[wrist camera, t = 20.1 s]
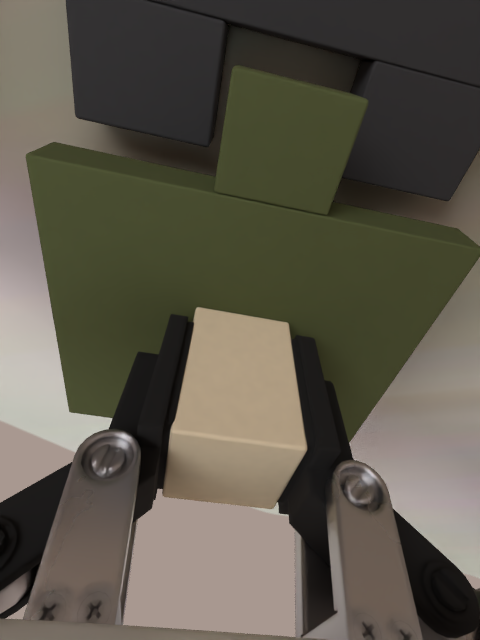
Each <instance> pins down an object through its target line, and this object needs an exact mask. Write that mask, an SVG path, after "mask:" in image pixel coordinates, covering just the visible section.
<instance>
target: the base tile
mask: <svg viewBox="0 0 480 640" xmlns="http://www.w3.org/2000/svg"><path fill="white" fill-rule="evenodd" d="M66 9H67V21H68V33H69V45H70V56H71V68H72V80H73V92H74V104H75V115H76V117H77V118H79V119H83V120H87V121H92V122H96V123H101V124H105V125H110V126H114V127H119V128H123V129H127V130H132V131H136V132H141V133H145V134H150V135H154V136H159V137H163V138H168V139H172V140H177V141H181V142H186V143H190V144H194V145H199V146H203V147H209V145H210V144H211V141H212V139H213V137H214V130H215V123H216V116H217V109H218V101H219V94H220V87H221V79H222V72H223V65H224V58H225V50H226V43H227V36H228V25H227V24H229V25H233V26H236V27H240V28H244V29H248V30H252V31H255V32H259V33H263V34H267V35H271V36H274V37H278V38H282V39H286V40H290V41H293V42H297V43H301V44H305V45H309V46H312V47H316V48H320V49H324V50H328V51H331V52H335V53H339V54H343V55H347V56H350V57H354V58H358V59H362V61H361V63H360V66H359V69H358V72H357V75H356V78H355V81H354V84H353V86H352V89H351V92H350V93H352V94H354V95H357V96H360V97H363V98H366V99H367V100H368V107H367V110H366V112H365V115H364V118H363V120H362V123H361V126H360V129H359V131H358V134H357V137H356V140H355V142H354V145H353V148H352V150H351V153H350V156H349V159H348V161H347V164H346V167H345V169H344V172H343V175H342V178H346V179H350V180H355V181H359V182H363V183H368V184H372V185H377V186H381V187H386V188H390V189H395V190H399V191H404V192H408V193H413V194H417V195H422V196H426V197H430V198H435V199H439V200H444V201H449V200H450V199H451V197H452V196H453V194H454V192H455V190H456V189H457V187H458V185H459V183H460V182H461V180H462V178H463V177H464V175H465V173H466V171H467V170H468V168H469V166H470V164H471V163H472V161H473V159H474V158H475V156H476V154H477V152H478V151H479V149H480V0H66Z"/></svg>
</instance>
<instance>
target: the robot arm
mask: <svg viewBox="0 0 480 640" xmlns="http://www.w3.org/2000/svg"><path fill="white" fill-rule="evenodd" d="M193 326H194V322H189V321H188V317H187V316H181V315H175V314H171V315H170V318H169V322H168V325H167V328H166V332H165V335H164V338H163V342H162V345H161V348H160V352H159V354H152V353H146V352H140V351H139V352H138V353H137V355H136V357H135V360H134V363H133V365H132V368H131V371H130V374H129V376H128V379H127V382H126V384H125V387H124V390H123V392H122V395H121V398H120V400H119V403H118V406H117V408H116V411H115V414H114V416H113V419H112V422H111V424H110V427H109V430H103V431H100V432H97V433H94V434H93V435H91V436H90V437H88V438H87V439H86V440H85V441H84V442H83V443H82V444H81V445H80V446H79V448H78V450H77V452H76V454H75V456H74V459H73V462H71V463H70V464H68V465H67V466H64V467H63V468H61V469H59V470H57V471H55V472H54V473H52V474H50V475H49V476H47V477H45V478H43V479H41V480H40V481H38V482H36V483H35V484H33V485H31V486H29V487H27V488H26V489H24V490H22V491H20V492H19V493H17V494H15V495H13V496H12V497H10V498H8V499H6V500H4V501H3V502H1V503H0V640H480V588H479V589H477V590H475V589H474V588H472V586H471V584H470V583H469V581H468V580H467V579H466V577H465V576H464V574H463V573H462V572H461V571H460V570H459V569H458V568H457V567H456V566H455V565H454V564H453V563H452V562H451V561H450V560H449V559H447V558H446V557H445V556H444V555H443V554H442V553H441V552H440V551H439V550H438V549H437V548H435V547H434V546H433V545H432V544H431V543H430V542H429V541H428V540H427V539H426V538H424V537H423V536H422V535H421V534H420V533H419V532H418V531H417V530H416V529H415V528H414V527H412V526H411V525H410V524H409V523H408V522H407V521H406V520H405V519H404V518H403V517H401V516H400V515H399V514H398V513H397V512H396V511H395V510H394V509H393V508H392V504H391V499H390V495H389V492H388V489H387V486H386V484H385V483H384V481H383V480H382V478H381V476H380V475H379V474H378V473H377V472H376V471H375V470H374V469H372V468H371V467H369V466H368V465H366V464H365V463H362V462H359V461H355V460H353V457H352V453H351V449H350V445H349V441H348V438H347V434H346V430H345V426H344V422H343V418H342V415H341V411H340V407H339V403H338V399H337V395H336V391H335V388H334V385H333V383H332V382H331V381H326V380H324V376H323V372H322V367H321V363H320V359H319V355H318V350H317V346H316V342H315V339H314V338H312V337H306V336H300V335H296V336H295V338H294V339H291V344H292V350H293V357H294V364H295V370H296V377H297V383H298V390H299V397H300V403H301V410H302V417H303V423H304V430H305V437H306V442H307V451H306V453H305V455H304V457H303V458H302V460H301V462H300V463H299V465H298V467H297V469H296V470H295V472H294V474H293V475H292V477H291V479H290V481H289V482H288V484H287V486H286V488H285V489H284V491H283V493H282V494H281V496H280V498H279V500H278V501H277V502H278V505H279V513H280V514H289V523H290V524H291V525H292V526H293V528H294V529H295V618H296V620H295V621H296V622H295V625H296V628H295V629H296V637H284V636H272V635H257V634H243V633H228V632H214V631H201V630H186V629H170V628H156V627H140V626H126V625H123V622H124V614H125V607H126V600H127V593H128V586H129V578H130V572H131V564H132V557H133V550H134V543H135V535H136V529H137V521H138V518H140V517H141V516H142V515H144V514H145V513H146V512H148V511H149V510H150V509H151V508H152V504H153V500H155V498H156V493H157V489H163V484H164V476H165V469H166V461H167V453H168V445H169V437H170V430H171V426H172V424H173V422H174V421H175V416H176V411H177V406H178V401H179V396H180V391H181V386H182V381H183V376H184V371H185V366H186V361H187V356H188V351H189V346H190V341H191V336H192V331H193ZM27 603H28V604H27ZM26 604H27V608H26V610H25V614H24V617H23V620H21V619H5V618H7V617H8V616H10V615H12V614H13V613H15V612H17V611H18V610H19V609H21V608H22V607H23V606H25V605H26Z"/></svg>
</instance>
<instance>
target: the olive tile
mask: <svg viewBox="0 0 480 640" xmlns="http://www.w3.org/2000/svg"><path fill="white" fill-rule="evenodd" d="M367 107H368V100H367V99H366V98H363V97H360V96H357V95H354V94H352V93H348V92H344V91H340V90H336V89H332V88H328V87H324V86H320V85H316V84H312V83H308V82H304V81H300V80H296V79H292V78H288V77H284V76H280V75H276V74H272V73H268V72H264V71H260V70H256V69H252V68H248V67H244V66H240V65H236V66H234V67H233V69H232V72H231V78H230V85H229V92H228V98H227V105H226V112H225V118H224V125H223V132H222V138H221V145H220V152H219V158H218V165H217V172H216V177H215V176H210V175H205V174H201V173H196V172H191V171H187V170H182V169H177V168H173V167H168V166H163V165H159V164H154V163H149V162H145V161H140V160H135V159H131V158H126V157H121V156H117V155H112V154H107V153H103V152H98V151H93V150H89V149H84V148H79V147H75V146H70V145H65V144H61V143H56V142H53V143H50V144H48V145H46V146H44V147H41V148H39V149H37V150H35V151H32V152H30V153H28V154H26V161H27V167H28V173H29V178H30V184H31V190H32V196H33V202H34V208H35V213H36V219H37V225H38V231H39V237H40V243H41V248H42V254H43V260H44V266H45V272H46V278H47V284H48V289H49V295H50V301H51V307H52V313H53V319H54V324H55V330H56V336H57V342H58V348H59V354H60V359H61V365H62V371H63V377H64V383H65V389H66V395H67V400H68V406H69V412H72V413H79V414H87V415H94V416H102V417H109V418H113V416H114V414H115V411H116V408H117V406H118V403H119V400H120V398H121V395H122V392H123V390H124V387H125V384H126V382H127V379H128V376H129V374H130V371H131V368H132V365H133V363H134V360H135V357H136V355H137V353H138V352H139V351H140V352H146V353H152V354H159V352H160V348H161V345H162V342H163V338H164V335H165V332H166V328H167V325H168V322H169V318H170V315H171V314H175V315H181V316H187V317H188V321H189V322H194V326H193V331H192V336H191V341H190V346H189V351H188V356H187V361H186V366H185V371H184V376H183V381H182V386H181V391H180V396H179V401H178V406H177V411H176V416H175V421H174V422H173V424H172V426H171V430H170V437H169V445H168V453H167V461H166V469H165V476H164V484H163V492H162V493H163V496H164V497H169V498H179V499H188V500H195V501H205V502H213V503H223V504H231V505H240V506H249V507H258V508H266V509H273V508H274V506H275V505H276V503H277V501H278V500H279V498H280V496H281V494H282V493H283V491H284V489H285V488H286V486H287V484H288V482H289V481H290V479H291V477H292V475H293V474H294V472H295V470H296V469H297V467H298V465H299V463H300V462H301V460H302V458H303V457H304V455H305V453H306V451H307V442H306V437H305V430H304V423H303V417H302V410H301V403H300V397H299V390H298V383H297V377H296V370H295V364H294V357H293V350H292V344H291V339H294V338H295V336H296V335H300V336H306V337H312V338H314V339H315V342H316V346H317V350H318V355H319V359H320V363H321V367H322V372H323V376H324V380H326V381H331V382H332V383H333V385H334V388H335V391H336V395H337V399H338V403H339V407H340V411H341V415H342V418H343V422H344V426H345V430H346V434H347V438H348V441H349V442H350V441H351V440H352V438H353V437H354V435H355V434H356V432H357V431H358V430H359V428H360V427H361V425H362V424H363V422H364V421H365V420H366V418H367V417H368V415H369V414H370V412H371V411H372V410H373V408H374V407H375V405H376V404H377V402H378V401H379V400H380V398H381V397H382V395H383V394H384V392H385V391H386V390H387V388H388V387H389V385H390V384H391V383H392V381H393V380H394V378H395V377H396V375H397V374H398V373H399V371H400V370H401V368H402V367H403V365H404V364H405V363H406V361H407V360H408V358H409V357H410V355H411V354H412V353H413V351H414V350H415V348H416V347H417V345H418V344H419V343H420V341H421V340H422V338H423V337H424V335H425V334H426V333H427V331H428V330H429V328H430V327H431V325H432V324H433V323H434V321H435V320H436V318H437V317H438V315H439V314H440V313H441V311H442V310H443V308H444V307H445V305H446V304H447V303H448V301H449V300H450V298H451V297H452V296H453V294H454V293H455V291H456V290H457V288H458V287H459V286H460V284H461V283H462V281H463V280H464V278H465V277H466V276H467V274H468V273H469V271H470V270H471V268H472V267H473V266H474V264H475V263H476V261H477V260H478V258H479V257H480V247H479V246H478V245H477V244H476V243H475V242H473V241H472V240H471V239H470V238H469V237H467V236H466V235H465V234H464V233H462V232H461V231H460V230H459V229H457V228H452V227H448V226H443V225H438V224H434V223H429V222H424V221H420V220H415V219H410V218H406V217H401V216H396V215H392V214H387V213H382V212H378V211H373V210H368V209H364V208H359V207H354V206H350V205H345V204H340V203H336V202H333V199H334V197H335V194H336V191H337V189H338V186H339V183H340V180H341V178H342V175H343V172H344V169H345V167H346V164H347V161H348V159H349V156H350V153H351V150H352V148H353V145H354V142H355V140H356V137H357V134H358V131H359V129H360V126H361V123H362V120H363V118H364V115H365V112H366V110H367Z"/></svg>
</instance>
